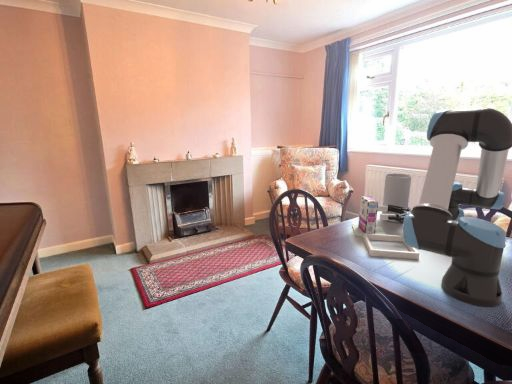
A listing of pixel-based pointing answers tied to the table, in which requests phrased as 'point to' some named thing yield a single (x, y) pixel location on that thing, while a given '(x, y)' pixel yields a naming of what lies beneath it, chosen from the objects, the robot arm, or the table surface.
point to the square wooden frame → (389, 253)
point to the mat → (360, 233)
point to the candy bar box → (368, 214)
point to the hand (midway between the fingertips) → (376, 212)
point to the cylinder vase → (396, 191)
